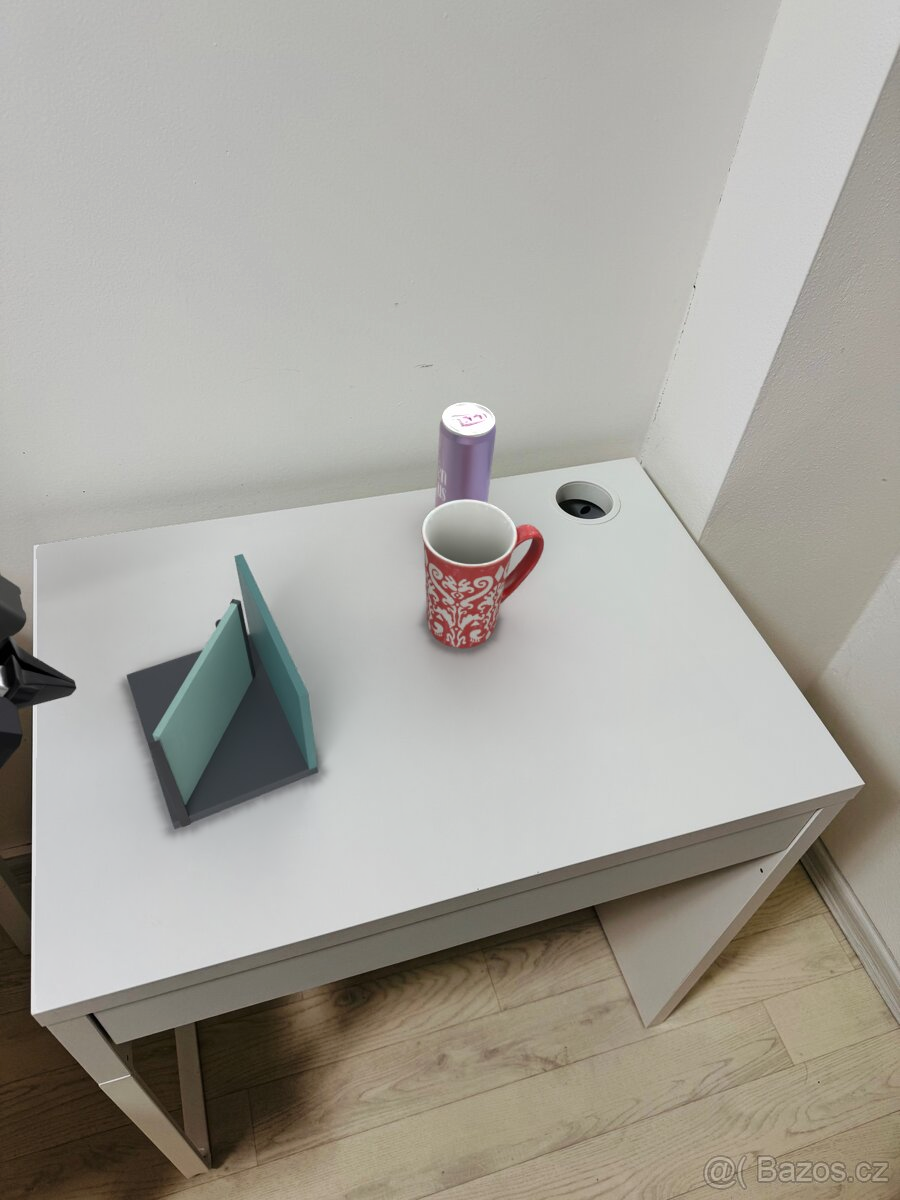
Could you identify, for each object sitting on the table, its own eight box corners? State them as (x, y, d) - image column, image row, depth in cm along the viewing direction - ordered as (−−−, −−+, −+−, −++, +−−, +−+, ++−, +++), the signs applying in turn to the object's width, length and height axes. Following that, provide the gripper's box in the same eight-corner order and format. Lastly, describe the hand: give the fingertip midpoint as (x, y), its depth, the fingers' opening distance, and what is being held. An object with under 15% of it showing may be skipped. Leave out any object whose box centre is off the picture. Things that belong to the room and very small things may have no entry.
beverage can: (492, 533, 98) (506, 429, 86) (445, 545, 96) (452, 440, 85) (473, 501, 101) (483, 396, 90) (427, 511, 100) (431, 406, 88)
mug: (433, 665, 85) (440, 574, 74) (406, 601, 90) (409, 508, 80) (547, 637, 88) (568, 546, 78) (514, 576, 93) (530, 484, 83)
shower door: (161, 798, 72) (132, 729, 64) (233, 669, 81) (215, 594, 73) (186, 805, 72) (160, 736, 63) (256, 675, 81) (241, 600, 73)
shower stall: (175, 830, 71) (142, 754, 62) (129, 682, 81) (95, 596, 72) (318, 773, 76) (308, 694, 66) (258, 638, 86) (242, 553, 76)
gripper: (-67, 671, 51) (155, 711, 63) (-90, 484, 61) (103, 549, 73) (-152, 784, 54) (74, 802, 66) (-160, 588, 65) (36, 634, 77)
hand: (73, 688), depth 70 cm, fingers closed
